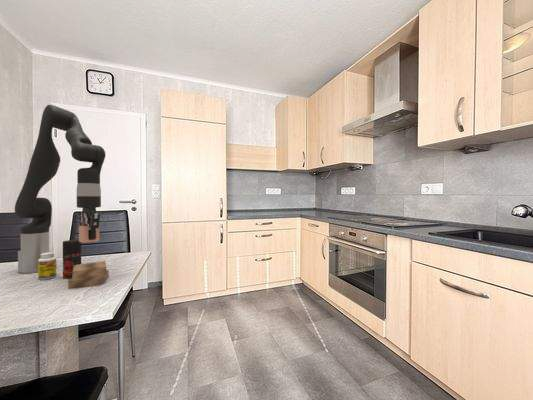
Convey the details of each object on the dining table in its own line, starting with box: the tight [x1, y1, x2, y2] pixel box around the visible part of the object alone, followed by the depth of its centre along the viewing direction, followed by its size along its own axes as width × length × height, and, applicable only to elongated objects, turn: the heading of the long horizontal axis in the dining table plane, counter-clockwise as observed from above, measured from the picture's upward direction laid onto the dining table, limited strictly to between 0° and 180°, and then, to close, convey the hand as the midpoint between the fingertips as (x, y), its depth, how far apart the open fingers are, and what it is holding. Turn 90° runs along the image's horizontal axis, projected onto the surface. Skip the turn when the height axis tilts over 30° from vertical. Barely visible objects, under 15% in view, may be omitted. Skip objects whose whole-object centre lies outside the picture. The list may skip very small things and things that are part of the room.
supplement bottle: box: [37, 251, 57, 281], centre depth 95 cm, size 6×6×10 cm
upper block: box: [73, 260, 107, 281], centre depth 90 cm, size 10×10×4 cm
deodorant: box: [62, 239, 82, 280], centre depth 97 cm, size 6×6×15 cm
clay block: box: [78, 225, 100, 244], centre depth 90 cm, size 5×5×6 cm
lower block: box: [67, 269, 110, 290], centre depth 90 cm, size 10×10×4 cm
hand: (89, 238), depth 90 cm, fingers closed on clay block, 5 cm apart
